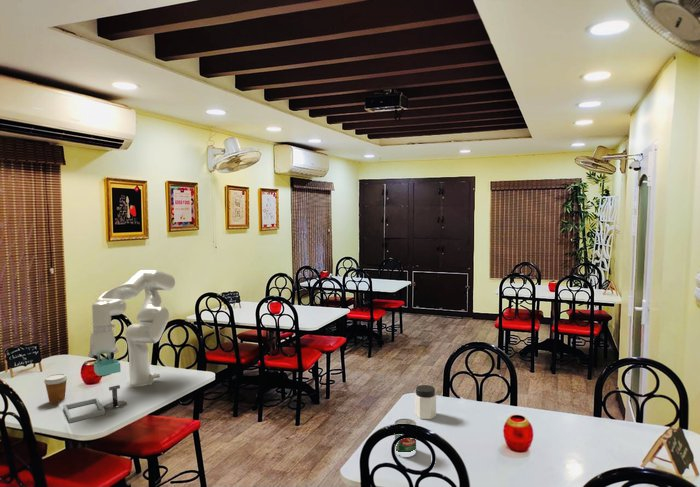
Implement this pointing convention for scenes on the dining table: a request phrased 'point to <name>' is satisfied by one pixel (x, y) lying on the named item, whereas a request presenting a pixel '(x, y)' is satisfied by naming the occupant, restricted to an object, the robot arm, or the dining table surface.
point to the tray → (84, 416)
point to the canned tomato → (406, 443)
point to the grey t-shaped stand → (115, 400)
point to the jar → (425, 402)
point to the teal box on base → (106, 366)
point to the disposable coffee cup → (56, 387)
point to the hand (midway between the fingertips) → (103, 367)
